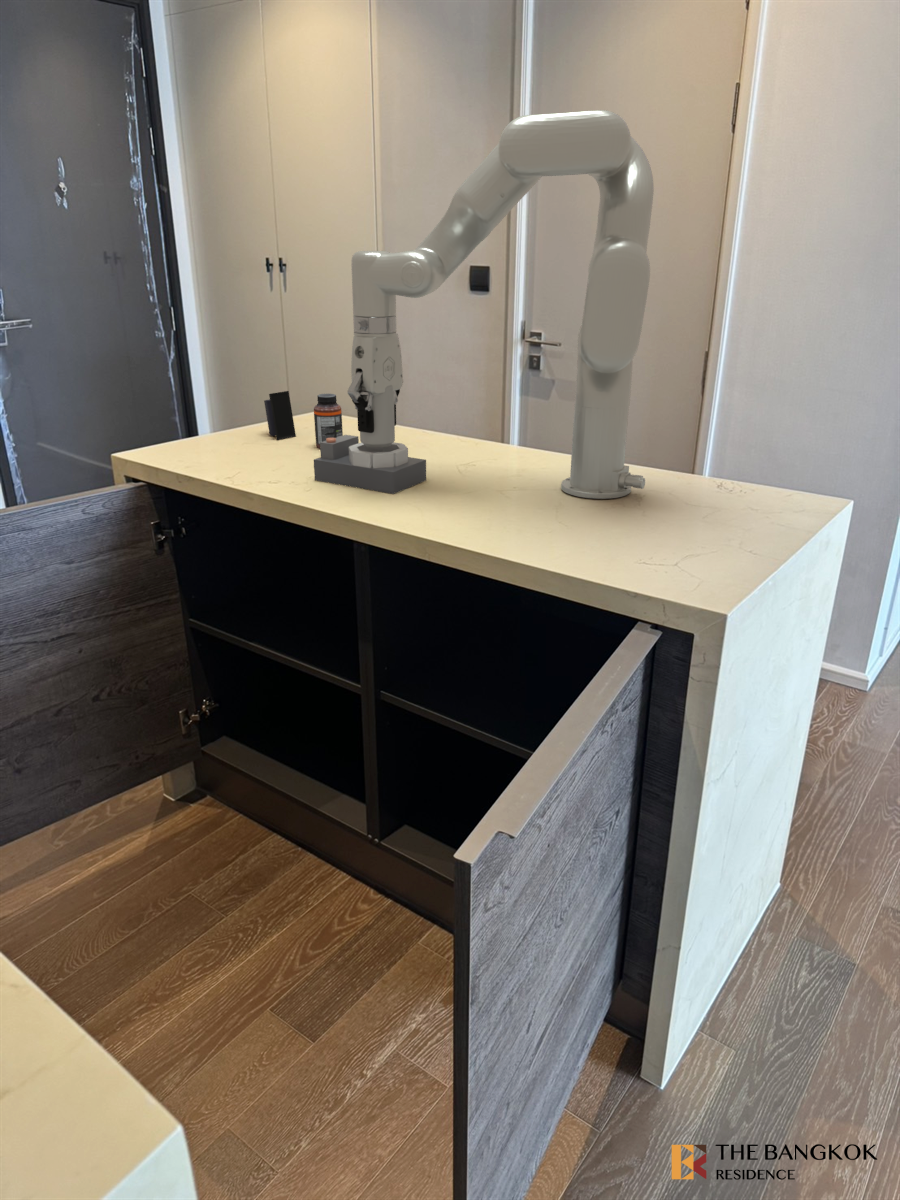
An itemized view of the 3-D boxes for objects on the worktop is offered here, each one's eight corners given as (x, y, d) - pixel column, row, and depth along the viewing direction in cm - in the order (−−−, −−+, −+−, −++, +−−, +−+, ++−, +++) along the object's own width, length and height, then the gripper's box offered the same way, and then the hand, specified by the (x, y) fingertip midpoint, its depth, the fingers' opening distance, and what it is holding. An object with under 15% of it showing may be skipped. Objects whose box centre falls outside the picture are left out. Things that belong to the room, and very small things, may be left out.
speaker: (301, 436, 197) (294, 390, 194) (277, 440, 195) (270, 393, 191) (290, 433, 204) (283, 389, 200) (267, 437, 201) (259, 392, 198)
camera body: (426, 480, 163) (425, 440, 160) (393, 494, 155) (392, 452, 152) (350, 468, 172) (348, 429, 169) (314, 480, 163) (312, 440, 160)
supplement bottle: (320, 443, 192) (317, 392, 187) (346, 444, 191) (344, 392, 187) (312, 449, 186) (309, 396, 182) (339, 450, 186) (336, 397, 181)
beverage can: (393, 448, 157) (392, 381, 152) (358, 448, 157) (356, 380, 152) (396, 441, 162) (395, 375, 158) (362, 440, 163) (360, 375, 158)
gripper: (363, 331, 143) (366, 439, 150) (419, 324, 156) (420, 422, 163) (327, 329, 146) (331, 434, 153) (385, 321, 160) (387, 418, 167)
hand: (377, 427), depth 158 cm, fingers closed on beverage can, 6 cm apart
